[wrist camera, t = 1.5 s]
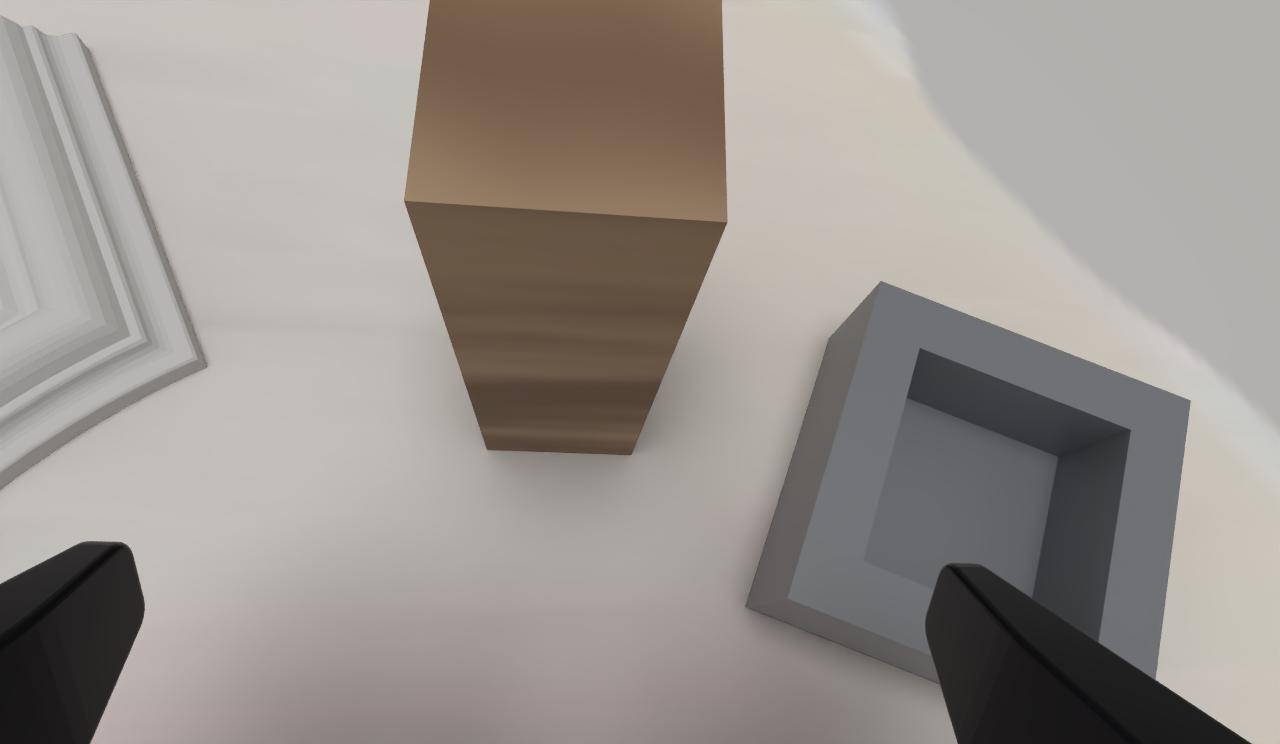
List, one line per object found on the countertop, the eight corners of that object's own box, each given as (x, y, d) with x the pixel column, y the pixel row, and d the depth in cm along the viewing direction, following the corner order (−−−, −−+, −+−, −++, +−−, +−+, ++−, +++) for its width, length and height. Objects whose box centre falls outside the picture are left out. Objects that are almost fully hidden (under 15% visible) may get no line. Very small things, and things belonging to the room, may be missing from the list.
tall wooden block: (631, 454, 22) (726, 222, 10) (487, 449, 22) (404, 201, 10) (633, 323, 24) (720, -24, 11) (497, 316, 23) (436, -52, 11)
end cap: (1040, 724, 21) (1147, 741, 17) (745, 606, 21) (787, 598, 17) (1089, 439, 24) (1191, 400, 20) (829, 338, 24) (880, 280, 20)
